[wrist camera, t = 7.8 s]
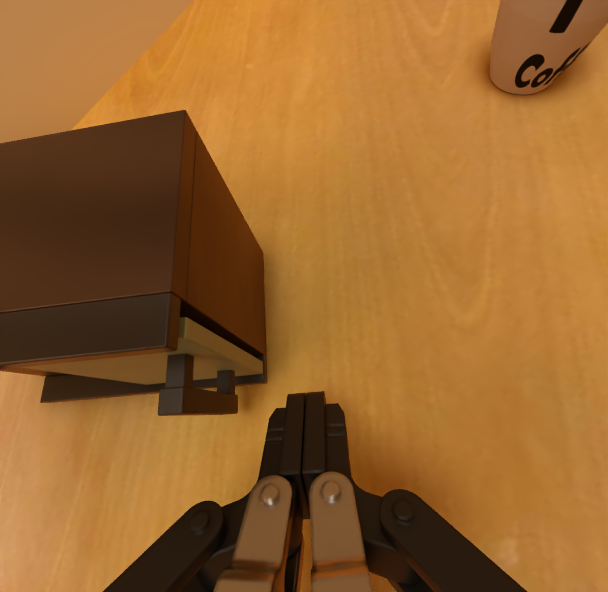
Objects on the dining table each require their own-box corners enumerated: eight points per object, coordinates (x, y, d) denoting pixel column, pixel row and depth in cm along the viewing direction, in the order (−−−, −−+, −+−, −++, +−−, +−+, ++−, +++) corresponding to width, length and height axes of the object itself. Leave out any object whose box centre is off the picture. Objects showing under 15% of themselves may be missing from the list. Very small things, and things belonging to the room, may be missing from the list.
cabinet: (267, 383, 21) (166, 347, 10) (48, 403, 23) (-268, 393, 11) (263, 252, 25) (185, 108, 13) (73, 277, 26) (-148, 169, 15)
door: (264, 412, 20) (181, 411, 10) (142, 422, 20) (-46, 430, 11) (263, 361, 21) (186, 316, 11) (147, 372, 21) (-19, 339, 12)
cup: (498, 120, 26) (582, -45, 17) (454, 58, 29) (503, -110, 20) (596, 88, 26) (736, -97, 16) (541, 29, 29) (633, -156, 19)
